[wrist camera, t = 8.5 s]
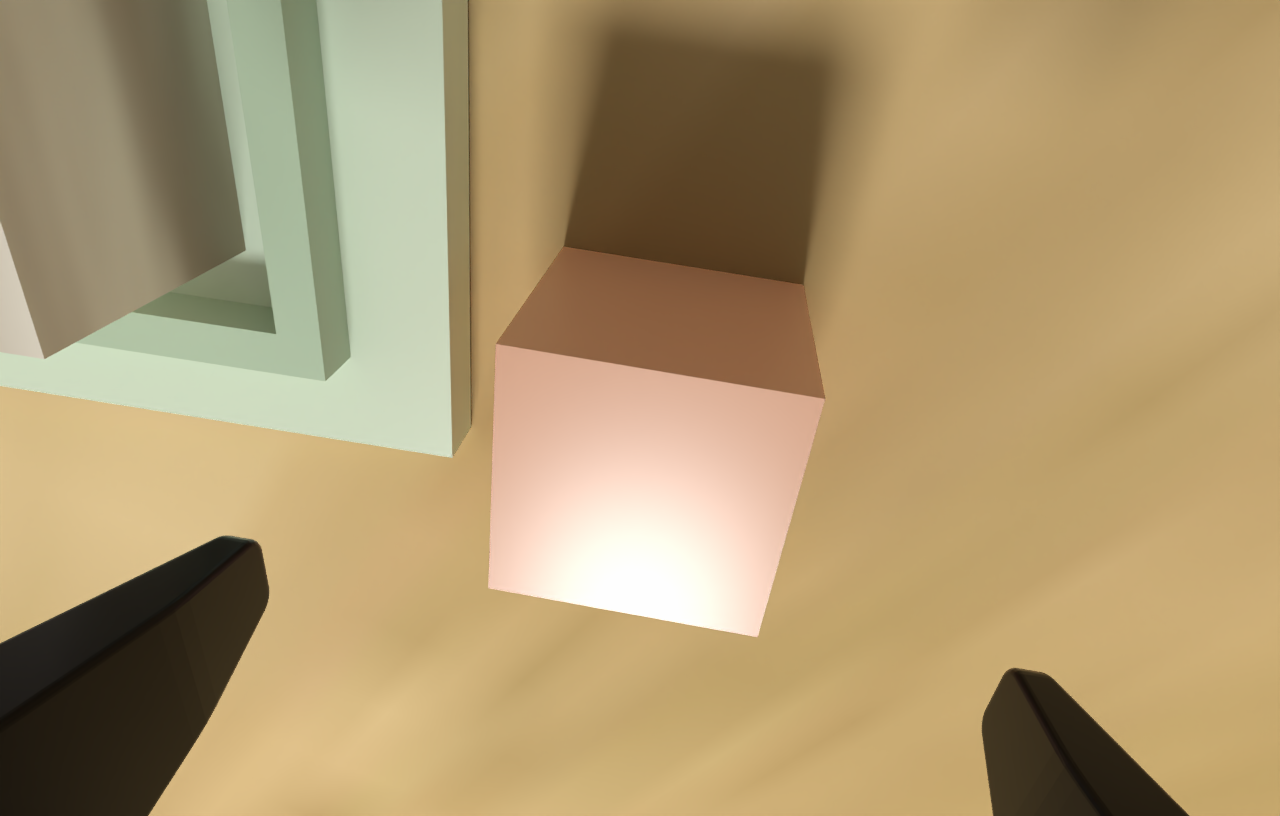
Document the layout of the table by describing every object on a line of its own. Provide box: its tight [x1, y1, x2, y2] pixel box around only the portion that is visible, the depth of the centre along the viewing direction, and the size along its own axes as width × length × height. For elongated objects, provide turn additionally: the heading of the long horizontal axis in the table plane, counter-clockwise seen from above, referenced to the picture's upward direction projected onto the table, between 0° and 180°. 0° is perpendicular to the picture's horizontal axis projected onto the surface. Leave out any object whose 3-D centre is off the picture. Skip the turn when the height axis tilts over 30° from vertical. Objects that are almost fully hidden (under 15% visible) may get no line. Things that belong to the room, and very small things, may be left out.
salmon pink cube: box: [489, 247, 825, 637], centre depth 13 cm, size 4×4×4 cm
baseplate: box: [0, 0, 471, 458], centre depth 13 cm, size 12×12×2 cm
